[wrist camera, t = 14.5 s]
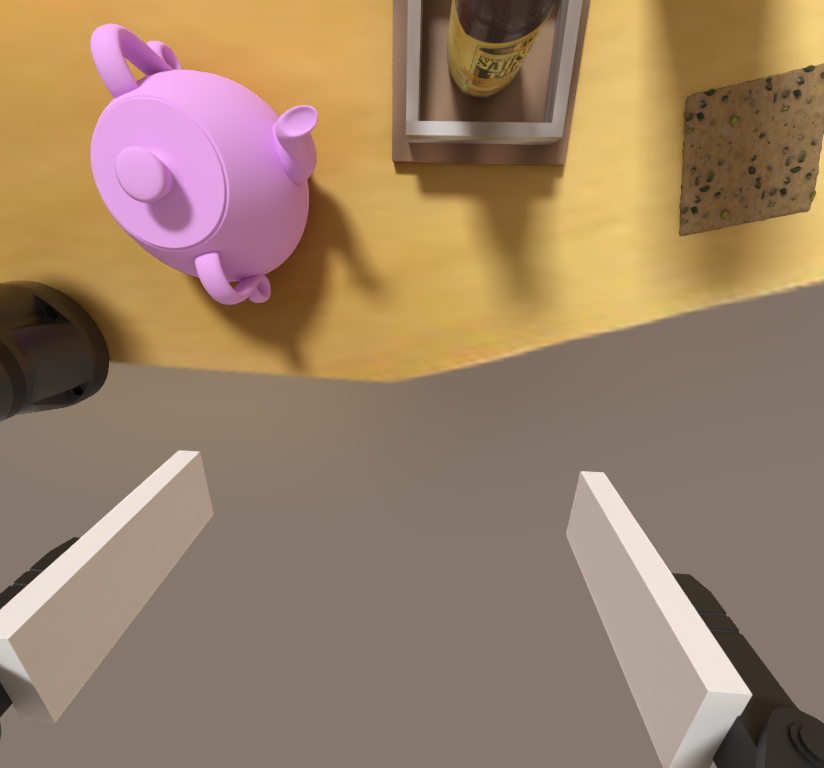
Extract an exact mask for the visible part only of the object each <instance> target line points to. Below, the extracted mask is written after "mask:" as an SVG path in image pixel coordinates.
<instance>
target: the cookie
mask: <svg viewBox="0 0 824 768" xmlns="http://www.w3.org/2000/svg"><path fill="white" fill-rule="evenodd" d="M685 107H686V108H685V113H684V117H685V127H684V143H683V169H682V186H681V188H682V193H681V203H680V231H679V235H680V236H683V235H689V234H695V233H700V232H705V231H709V230H716V229H721V228H724V227H729V226H734V225H740V224H743V223H750V222H754V221H758V220H766V219H768V218H773V217H778V216H785V215H790V214H794V213H798V212H806V211H809V210H810V206H811V203H812V201H813V199H814V197H815V194H816V191H815V186H816V178H817V175H818V172H819V159H820V152H821V149H822V138H823V134H824V64H820V65H816V66H812V65H811V66H808V67H806V68H803V69H798V70H792V71H789V72H787V73H784V74H780V75H775V76H768V77H765V78H762V79H759V80H754V81H748V82H745V83H742V84H739V85H735V86H729V87H724V88H721V89H717V90H714V89H712V90H709V91H707V92H704V93H697V94H693V95H691V96H689V97H687V99H686V106H685Z"/></svg>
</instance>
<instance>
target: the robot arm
mask: <svg viewBox="0 0 824 768" xmlns="http://www.w3.org/2000/svg"><path fill="white" fill-rule="evenodd" d="M108 368H109V359H108V352H107V348H106V345H105V342H104V340H103V337H102V335H101V333H100V331H99V330H98V328H97V326H96V325H95V323H94V322H93V321H92V319H91V318H90V317H89V316H88V315H87V313H86V312H85V311H84V310H83V309H82V308H81V307H80V306H79V305H77V304H76V303H75V302H74V301H73V300H71V299H70V298H69V297H67V296H66V295H64V294H62V293H61V292H59V291H57V290H55V289H53V288H51V287H49V286H46V285H43V284H40V283H36V282H30V281H12V282H5V283H0V422H1V421H3V420H5V419H8V418H10V417H12V416H15V415H19V414H26V413H32V412H39V411H45V410H52V409H58V408H64V407H68V406H71V405H74V404H76V403H79V402H80V401H82V400H84V399H87V398H88V397H90V396H92V395H94V394H95V393H96V392H97V391H98V390H99V389H100V388H101V387H102V386H103V384H104V382H105V380H106V378H107V374H108ZM212 515H213V509H212V505H211V500H210V496H209V491H208V486H207V482H206V477H205V473H204V468H203V464H202V459H201V455H200V452H196V451H178V452H176V453H175V454H174V455H173V456H172V457H171V458H170V459H169V460H168V461H166V462H165V463H164V464H163V465H162V466H161V467H160V468H159V469H158V470H156V471H155V472H154V473H153V474H152V475H151V476H150V477H148V478H147V479H146V480H145V481H144V482H143V483H142V484H141V485H140V486H138V487H137V488H136V489H135V490H134V491H133V492H132V493H130V495H128V496H127V497H126V498H125V499H124V500H123V501H122V502H121V503H119V504H118V505H117V506H116V507H115V508H114V509H113V510H111V511H110V512H109V513H108V514H107V515H106V516H105V517H104V518H102V519H101V520H100V521H99V522H98V523H97V524H96V525H95V526H94V527H92V528H91V529H90V530H89V531H88V532H87V533H86V534H85V535H84V536H82V537H81V538H76V537H74V538H72V539H70V540H68V541H67V542H65V543H63V544H62V545H60V546H58V547H57V548H55V549H53V550H51V551H50V552H49V553H47V554H46V555H45V556H44V557H43V558H42V559H40V560H39V561H38V562H37V563H36V564H35V565H33V566H32V567H31V568H30V571H29V572H25V573H24V574H23V575H22V576H21V577H19V578H18V579H17V580H16V581H15V582H14V584H13V586H9V587H8V588H7V589H6V590H4V591H3V592H2V593H1V594H0V717H1V716H2V715H3V713H4V712H5V711H6V710H7V709H8V708H9V707H10V705H11V704H13V706H14V708H15V709H16V711H17V713H18V714H19V716H20V717H21V719H22V720H29V721H41V722H53V723H55V722H56V721H57V720H58V718H59V717H60V716H61V714H62V713H63V712H64V710H65V709H66V708H67V706H68V705H69V704H70V703H71V701H72V700H73V699H74V697H75V696H76V694H77V693H78V692H79V691H80V689H81V688H82V686H83V685H84V684H85V683H86V681H87V680H88V679H89V677H90V676H91V675H92V674H93V672H94V671H95V670H96V668H97V667H98V666H99V664H100V663H101V662H102V660H103V659H104V658H105V656H106V655H107V654H108V652H109V651H110V650H111V649H112V647H113V646H114V645H115V643H116V642H117V641H118V639H119V638H120V637H121V635H122V634H123V633H124V631H125V630H126V629H127V627H128V626H129V625H130V623H131V622H132V620H134V618H135V617H136V615H137V614H138V613H139V612H140V610H141V609H142V608H143V606H144V605H145V604H146V602H147V601H148V600H149V598H150V597H151V596H152V594H153V593H154V592H155V590H156V589H157V587H159V585H160V584H161V583H162V581H163V580H164V579H165V577H166V576H167V575H168V573H169V572H170V570H171V569H172V568H173V567H174V565H175V564H176V563H177V562H178V560H179V559H180V558H181V556H182V555H183V554H184V552H185V551H186V550H187V548H188V547H189V546H190V544H191V543H192V542H193V540H194V539H195V538H196V537H197V535H198V534H199V533H200V531H201V530H202V529H203V527H204V526H205V524H206V523H207V522H208V520H209V519H210V518H211V517H212ZM566 536H567V538H568V541H569V543H570V545H571V548H572V550H573V553H574V555H575V557H576V560H577V562H578V564H579V567H580V569H581V572H582V574H583V577H584V579H585V581H586V584H587V586H588V589H589V591H590V593H591V595H592V598H593V601H594V603H595V605H596V607H597V610H598V612H599V615H600V617H601V620H602V622H603V625H604V627H605V629H606V632H607V634H608V636H609V639H610V641H611V644H612V646H613V649H614V651H615V653H616V656H617V658H618V661H619V663H620V665H621V668H622V670H623V673H624V675H625V677H626V680H627V682H628V684H629V687H630V689H631V692H632V694H633V697H634V699H635V701H636V704H637V706H638V709H639V711H640V713H641V716H642V718H643V721H644V723H645V725H646V728H647V730H648V733H649V735H650V737H651V740H652V742H653V744H654V747H655V749H656V752H657V754H658V757H659V759H660V761H661V764H662V766H663V768H709V767H710V766H711V764H712V762H713V761H714V762H715V764H716V766H717V768H824V723H822V722H821V721H819V720H818V719H817V718H814V717H812V716H810V715H808V714H806V713H804V712H802V711H800V710H799V709H798V708H797V707H796V706H795V704H794V703H793V702H792V701H791V699H790V698H789V697H788V695H787V694H786V693H785V691H784V690H783V689H782V687H781V686H780V685H779V683H778V682H777V681H776V679H775V678H774V677H773V675H772V674H771V672H770V671H769V670H768V669H767V667H766V666H765V664H764V663H763V662H762V660H761V659H760V658H759V656H758V655H757V654H756V652H755V651H754V650H753V648H752V647H751V646H750V645H749V643H748V642H747V640H746V639H745V638H744V636H743V635H742V634H740V633H739V629H738V628H737V627H736V625H735V624H734V623H733V621H732V620H731V619H730V617H727V616H726V612H725V611H724V609H723V608H722V607H721V605H720V604H719V603H718V601H717V600H716V598H715V597H714V596H713V594H712V593H711V592H710V591H709V590H708V589H706V588H705V587H704V586H703V585H702V584H701V583H699V582H698V581H697V580H696V579H695V578H694V577H692V576H691V575H689V574H674V573H671V572H670V571H669V569H668V568H667V566H666V565H665V563H664V562H663V560H662V559H661V557H660V556H659V554H658V553H657V551H656V550H655V548H654V547H653V545H652V544H651V542H650V541H649V540H648V538H647V536H646V535H645V533H644V532H643V530H642V529H641V527H640V526H639V525H638V523H637V521H636V520H635V519H634V517H633V515H632V514H631V513H630V511H629V510H628V508H627V507H626V505H625V504H624V502H623V501H622V499H621V498H620V496H619V495H618V493H617V492H616V490H615V489H614V487H613V486H612V484H611V483H610V481H609V480H608V478H607V477H606V475H605V474H604V473H602V472H583V471H581V472H580V476H579V480H578V485H577V489H576V494H575V498H574V502H573V506H572V511H571V515H570V519H569V524H568V528H567V533H566ZM0 737H1V725H0Z"/></svg>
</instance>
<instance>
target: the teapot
mask: <svg viewBox="0 0 824 768" xmlns="http://www.w3.org/2000/svg"><path fill="white" fill-rule="evenodd" d="M90 45H91V52H92V56H93V59H94V63H95V65H96V68H97V70H98V72H99V74H100V76H101V78H102V80H103V82H104V83H105V85H106V87H107V89H108V90H109V92H110V93H111V94H112V96H113V97H114V99H113V100H112V101H111V102H110V104H109V105H108V106H107V107H106V108H105V109H104V111H103V113H102V114H101V116H100V118H99V120H98V122H97V125H96V127H95V130H94V133H93V137H92V142H91V165H92V171H93V175H94V179H95V182H96V185H97V188H98V191H99V193H100V195H101V197H102V199H103V201H104V203H105V204H106V206H107V208H108V209H109V211H110V213H111V214H112V215H113V217H114V218H115V220H116V221H117V222H118V224H119V225H120V226H121V227H122V228H123V229H124V230H125V231H126V232H127V233H128V234H129V235H130V236H131V237H132V238H133V239H134V240H135V241H136V242H137V243H138V244H139V245H140V246H141V247H142V248H144V249H145V250H146V251H147V252H149V253H150V254H151V255H153V256H154V257H156V258H157V259H158V260H160V261H161V262H163V263H165V264H167V265H168V266H170V267H172V268H174V269H177V270H179V271H181V272H183V273H186V274H188V275H191V276H194V277H198V278H200V281H201V283H202V284H203V286H204V288H205V289H206V291H207V292H208V293H209V295H210V296H211V297H212V298H213V299H214V300H216V301H217V302H219V303H221V304H226V305H232V304H237V303H240V302H242V301H244V300H245V299H247V298H249V300H251V301H252V302H255V303H263V302H265V301H267V300H268V299H269V298H270V294H271V288H270V283H269V280H268V278H267V277H266V276H265V274H267V273H269V272H271V271H272V270H274V269H276V268H277V267H278V266H280V265H281V264H282V263H283V262H285V261H286V259H287V258H288V257H289V256H290V255H291V254H292V253H293V251H294V249H295V248H296V246H297V245H298V243H299V241H300V239H301V237H302V235H303V232H304V229H305V226H306V222H307V217H308V211H309V186H308V180H307V179H308V178H309V177H310V176H311V175H312V174H313V172H314V170H315V166H316V160H317V159H316V150H315V145H314V142H313V139H312V136H311V134H310V132H311V131H312V130H313V129H314V127H315V125H316V124H317V121H318V114H317V111H316V110H315V109H314V108H313V107H311V106H307V105H301V106H297V107H293V108H291V109H289V110H287V111H286V112H285V113H283V114H282V115H281V116H280V117H279V116H278V115H277V113H276V112H275V111H274V110H273V109H272V108H271V107H270V106H269V105H268V104H267V103H266V102H265V101H264V100H262V99H261V98H260V97H259V96H257V95H256V94H254V93H253V92H252V91H250V90H249V89H247V88H245V87H244V86H242V85H240V84H238V83H236V82H234V81H232V80H230V79H227V78H224V77H222V76H219V75H215V74H211V73H207V72H201V71H194V70H183V69H182V67H181V64H180V62H179V60H178V59H177V57H176V55H175V54H174V52H173V51H172V49H171V48H170V47H169V46H168V45H166V44H165V43H162V42H159V41H150V42H148V43H147V44H146V43H145V42H143V41H142V40H141V39H140V38H139V37H138V36H136V35H135V34H134V33H133V32H131V31H130V30H128V29H126V28H125V27H123V26H120V25H117V24H106V25H103V26H100V27H98V28H97V29H96V30H95V31H94V32H93V34H92V36H91V42H90ZM124 57H125V58H126V59H128V60H129V61H130V62H131V63H132V64H134V65H135V66H136V67H137V68H138V69H139V70H141V71H142V72H143V73H144V74H145V75H147V76H146V77H144V78H142V79H140V80H138V81H135V79H134V77H133V75H132V74H131V72H130V70H129V67H128V65H127V63H126V61H125V58H124ZM236 281H240V282H239V283H238V284H237V285H236V287H235V288H234V289H233V288H232V287H231V285H230V284H229V282H236Z"/></svg>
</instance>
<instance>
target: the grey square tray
mask: <svg viewBox="0 0 824 768" xmlns="http://www.w3.org/2000/svg"><path fill="white" fill-rule="evenodd" d="M589 2H590V0H557V2H556V4H555V6H554V8H553V10H552V12H551V14H550V16H549V18H548V19H547V21H546V22H545V24H544V26H543V27H542V29H541V31H540V33H539V35H538V37H537V38H536V40H535V42H534V43H533V45H532V47H531V49H530V51H529V52H528V54H527V56H526V57H525V59H524V61H523V63H522V65H521V66H520V68H519V70H518V72H517V74H516V75H515V77H514V78H513V80H512V81H511V82H510V83H509V84H508V85H507V86H506V87H505V88H504V89H502V90H501V92H499V93H497V94H495V95H493V96H492V97H488V98H483V99H472V98H470V97H467V96H466V95H464V94H462V93H461V92H460V91H459V90H458V89H457V88H456V87H455V85H454V84H453V82H452V79H451V77H450V73H449V68H448V62H447V40H448V31H449V24H450V15H451V7H452V0H393V123H392V161H393V162H403V163H456V164H510V165H564V164H565V158H566V152H567V145H568V139H569V132H570V126H571V119H572V113H573V106H574V100H575V93H576V87H577V80H578V74H579V67H580V61H581V54H582V48H583V41H584V34H585V28H586V21H587V15H588V8H589Z"/></svg>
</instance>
